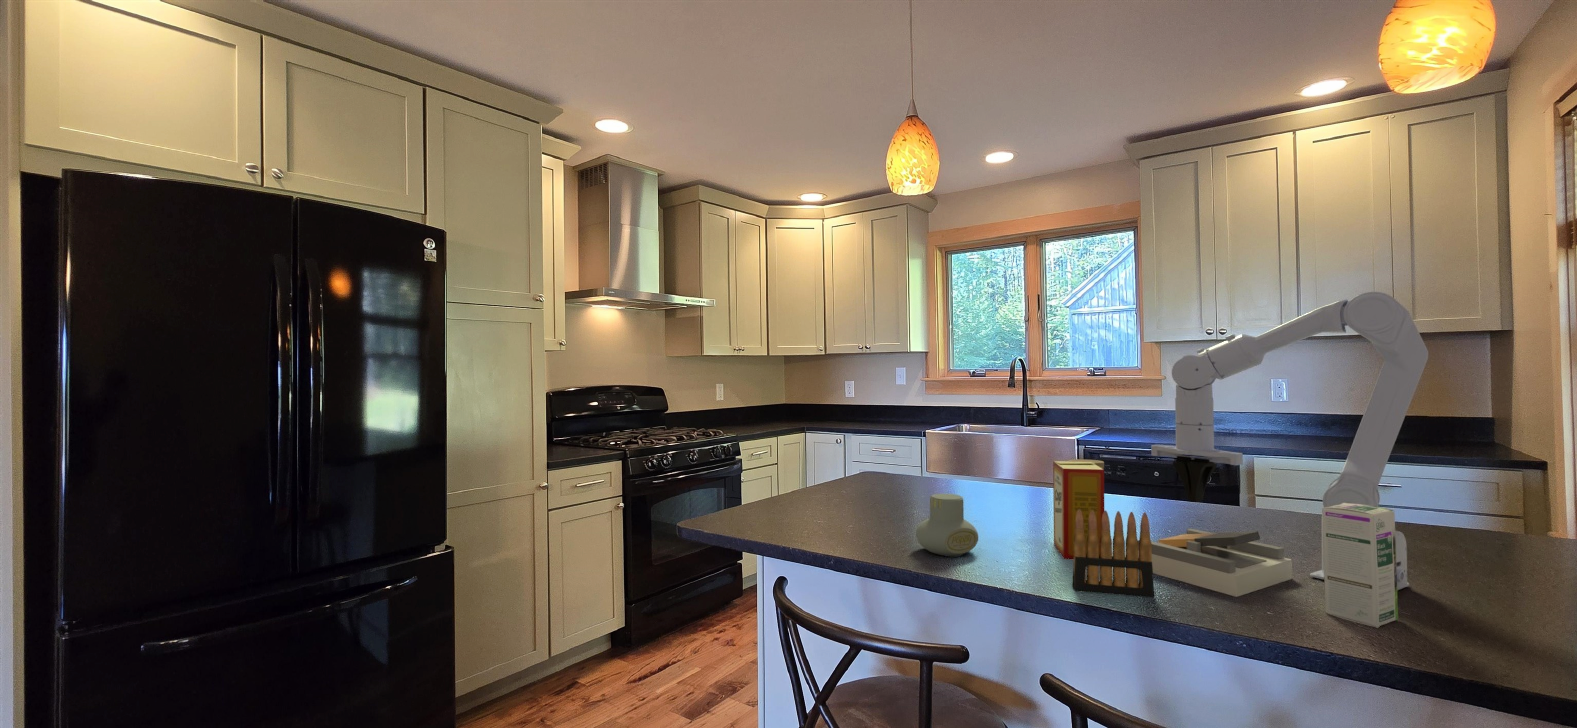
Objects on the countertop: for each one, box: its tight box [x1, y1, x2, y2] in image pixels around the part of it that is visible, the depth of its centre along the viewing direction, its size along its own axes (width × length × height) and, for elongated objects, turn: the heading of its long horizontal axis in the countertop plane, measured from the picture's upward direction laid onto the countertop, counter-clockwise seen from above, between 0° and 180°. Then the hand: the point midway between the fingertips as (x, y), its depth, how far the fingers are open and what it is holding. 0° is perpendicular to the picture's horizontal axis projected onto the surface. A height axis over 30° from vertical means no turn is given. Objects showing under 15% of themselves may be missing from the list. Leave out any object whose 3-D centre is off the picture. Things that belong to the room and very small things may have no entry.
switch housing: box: [1137, 528, 1293, 598], centre depth 104 cm, size 16×16×6 cm
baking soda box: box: [1052, 460, 1105, 560], centre depth 116 cm, size 10×6×16 cm
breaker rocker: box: [1158, 531, 1261, 547], centre depth 104 cm, size 12×7×1 cm, turn 29°
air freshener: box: [915, 493, 979, 558], centre depth 117 cm, size 11×8×10 cm
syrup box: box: [1321, 503, 1399, 629], centre depth 85 cm, size 6×6×14 cm
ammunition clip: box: [1071, 509, 1155, 599], centre depth 95 cm, size 11×2×12 cm, turn 74°
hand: (1195, 500), depth 114 cm, fingers closed
